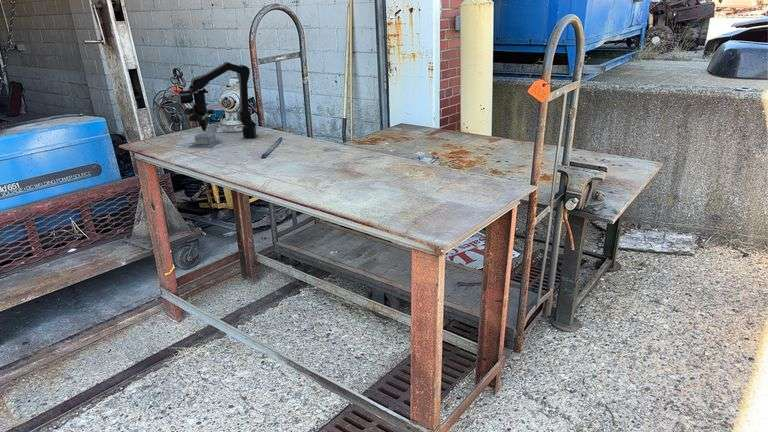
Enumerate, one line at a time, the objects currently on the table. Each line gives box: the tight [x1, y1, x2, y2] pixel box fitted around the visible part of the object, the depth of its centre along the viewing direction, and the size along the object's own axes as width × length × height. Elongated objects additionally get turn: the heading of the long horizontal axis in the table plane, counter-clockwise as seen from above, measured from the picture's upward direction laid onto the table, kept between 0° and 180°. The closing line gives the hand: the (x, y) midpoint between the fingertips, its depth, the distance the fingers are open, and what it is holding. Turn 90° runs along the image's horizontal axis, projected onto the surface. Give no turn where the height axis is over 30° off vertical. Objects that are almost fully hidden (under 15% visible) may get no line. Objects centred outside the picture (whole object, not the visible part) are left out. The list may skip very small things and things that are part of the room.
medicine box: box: [194, 132, 217, 145], centre depth 300 cm, size 8×4×9 cm
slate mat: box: [188, 140, 221, 149], centre depth 298 cm, size 13×12×1 cm
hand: (204, 130), depth 297 cm, fingers closed
